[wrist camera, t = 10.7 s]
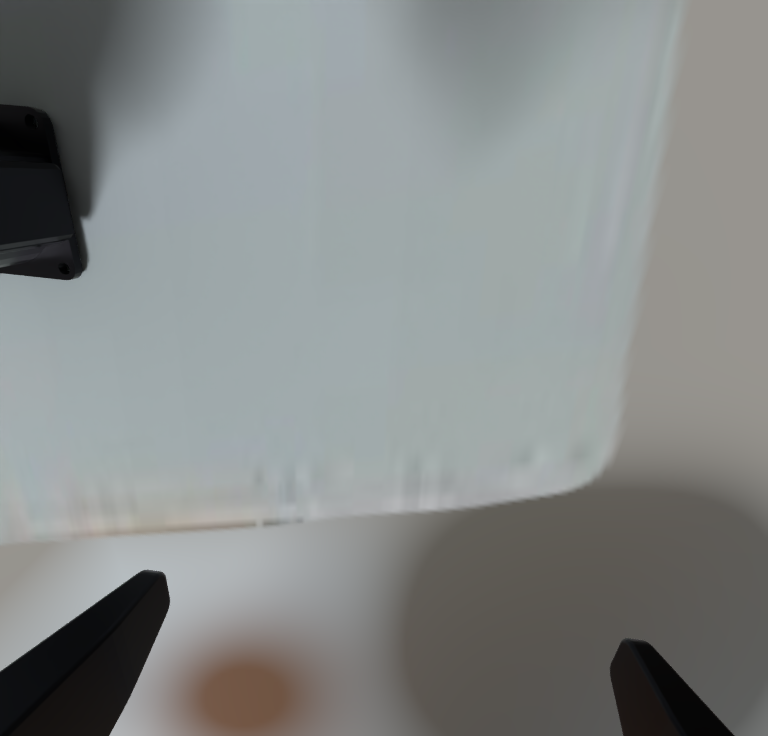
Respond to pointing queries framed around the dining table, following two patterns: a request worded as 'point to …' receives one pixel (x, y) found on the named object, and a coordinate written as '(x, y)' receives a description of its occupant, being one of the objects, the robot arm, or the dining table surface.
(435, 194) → the dining table surface
